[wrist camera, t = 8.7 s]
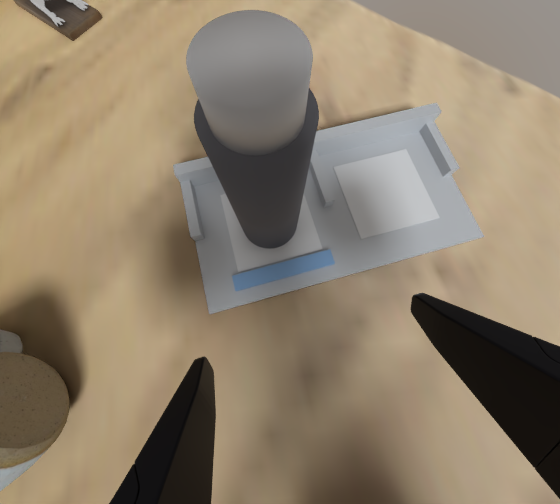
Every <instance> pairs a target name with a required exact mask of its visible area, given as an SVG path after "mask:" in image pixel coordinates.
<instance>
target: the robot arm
mask: <svg viewBox="0 0 560 504" xmlns="http://www.w3.org/2000/svg"><path fill="white" fill-rule="evenodd" d="M411 312H412V314H413V316H414V317H415V319H416V320H417V322H418V323H419V325H420V326H421V328H422V329H423V331H424V332H425V334H426V335H427V337H428V338H429V340H430V341H431V343H432V344H433V345H434V347H435V348H436V349H437V350H438V352H439V353H440V354H441V355H442V357H443V358H444V359H445V360H446V361H447V363H448V364H449V365H450V366H451V367H452V369H453V370H454V371H455V372H456V374H457V375H458V376H459V377H460V378H461V380H462V381H463V382H464V383H465V384H466V386H467V387H468V388H469V389H470V390H471V392H472V393H473V394H474V395H475V397H476V398H477V399H478V400H479V401H480V403H481V404H482V405H483V406H484V407H485V409H486V410H487V411H488V412H489V414H490V415H491V416H492V417H493V418H494V420H495V421H496V422H497V423H498V424H499V426H500V427H501V428H502V429H503V431H504V432H505V433H506V434H507V435H508V437H509V438H510V439H511V440H512V441H513V443H514V444H515V445H516V446H517V447H518V449H519V450H520V451H521V452H522V454H523V455H524V456H525V457H526V458H527V460H528V461H529V462H530V463H531V464H532V466H533V467H535V470H536V471H537V472H538V473H539V474H540V476H541V477H542V478H543V479H544V480H545V482H546V483H547V484H548V485H549V487H550V488H551V489H552V490H553V491H554V493H555V494H556V495H557V496H558V497H559V499H560V346H557V345H554V344H552V343H549V342H546V341H544V340H541V339H539V338H536V337H532V336H531V335H529V334H526V333H523V332H521V331H518V330H516V329H513V328H511V327H508V326H506V325H503V324H501V323H498V322H496V321H493V320H491V319H488V318H485V317H483V316H480V315H478V314H475V313H473V312H470V311H468V310H465V309H463V308H460V307H458V306H455V305H453V304H450V303H447V302H445V301H442V300H440V299H437V298H435V297H432V296H430V295H427V294H425V293H419V294H416V295H413V297H412V302H411ZM215 419H216V409H215V389H214V372H213V368H212V366H211V365H210V363H209V361H208V359H207V358H206V357H201V358H198V359H195V360H194V362H193V363H192V365H191V367H190V368H189V370H188V372H187V374H186V375H185V377H184V379H183V380H182V382H181V384H180V385H179V387H178V389H177V391H176V392H175V394H174V396H173V397H172V399H171V401H170V402H169V404H168V406H167V408H166V409H165V411H164V413H163V414H162V416H161V418H160V419H159V421H158V423H157V425H156V426H155V428H154V430H153V431H152V433H151V435H150V437H149V438H148V440H147V442H146V443H145V445H144V447H143V448H142V450H141V452H140V454H139V455H138V457H137V459H136V460H135V464H133V465H132V467H131V469H130V470H129V472H128V474H127V475H126V477H125V479H124V480H123V482H122V484H121V485H120V487H119V489H118V490H117V492H116V494H115V495H114V497H113V499H112V500H111V502H110V503H109V504H211V495H212V476H213V457H214V438H215Z"/></svg>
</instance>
